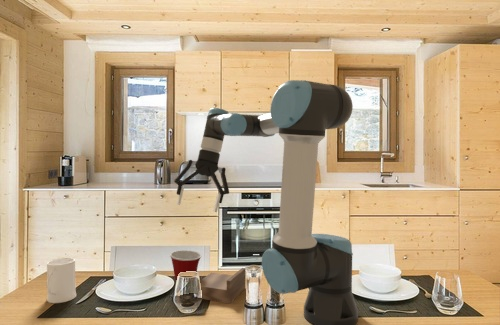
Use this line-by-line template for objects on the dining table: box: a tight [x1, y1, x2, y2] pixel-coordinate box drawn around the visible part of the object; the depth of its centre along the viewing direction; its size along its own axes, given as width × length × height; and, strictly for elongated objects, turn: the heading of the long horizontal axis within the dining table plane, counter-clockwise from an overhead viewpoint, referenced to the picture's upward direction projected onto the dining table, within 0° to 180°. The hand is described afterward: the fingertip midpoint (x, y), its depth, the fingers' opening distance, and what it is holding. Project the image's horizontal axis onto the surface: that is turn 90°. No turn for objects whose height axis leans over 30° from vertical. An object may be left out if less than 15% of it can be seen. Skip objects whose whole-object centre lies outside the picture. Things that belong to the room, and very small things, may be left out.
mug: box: [46, 257, 77, 304], centre depth 116 cm, size 12×8×12 cm
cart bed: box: [199, 267, 246, 304], centre depth 121 cm, size 13×13×7 cm
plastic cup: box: [169, 249, 202, 281], centre depth 125 cm, size 11×11×12 cm
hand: (197, 208), depth 131 cm, fingers open, 13 cm apart
